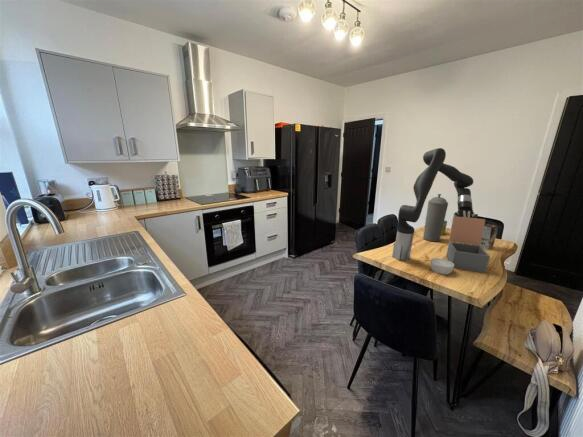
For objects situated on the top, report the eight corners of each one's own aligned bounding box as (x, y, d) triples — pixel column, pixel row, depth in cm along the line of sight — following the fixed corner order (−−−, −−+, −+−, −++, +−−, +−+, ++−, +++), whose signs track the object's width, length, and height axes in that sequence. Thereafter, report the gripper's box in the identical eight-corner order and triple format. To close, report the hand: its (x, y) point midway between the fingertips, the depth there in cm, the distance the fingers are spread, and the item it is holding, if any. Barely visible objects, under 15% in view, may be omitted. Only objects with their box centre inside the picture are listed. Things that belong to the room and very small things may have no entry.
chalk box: (436, 235, 188) (439, 217, 184) (426, 231, 197) (430, 214, 193) (445, 234, 191) (448, 217, 187) (435, 231, 199) (439, 214, 195)
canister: (444, 242, 174) (454, 195, 165) (428, 242, 173) (437, 195, 164) (433, 236, 187) (442, 192, 177) (418, 236, 186) (425, 192, 176)
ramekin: (424, 268, 135) (426, 259, 134) (437, 264, 140) (439, 256, 138) (443, 277, 125) (445, 268, 124) (457, 273, 130) (459, 264, 128)
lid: (485, 219, 139) (484, 219, 140) (453, 216, 145) (453, 216, 146) (480, 245, 142) (479, 245, 143) (449, 241, 148) (448, 241, 149)
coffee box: (488, 250, 161) (493, 227, 157) (477, 247, 166) (482, 225, 162) (493, 247, 166) (499, 225, 161) (482, 244, 171) (487, 223, 167)
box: (485, 272, 130) (490, 256, 128) (451, 267, 136) (455, 251, 133) (476, 260, 145) (480, 245, 142) (446, 256, 150) (449, 241, 148)
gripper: (454, 199, 151) (455, 223, 144) (479, 201, 146) (482, 225, 139) (450, 205, 157) (451, 228, 150) (474, 207, 153) (476, 231, 146)
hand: (466, 227), depth 145 cm, fingers closed
